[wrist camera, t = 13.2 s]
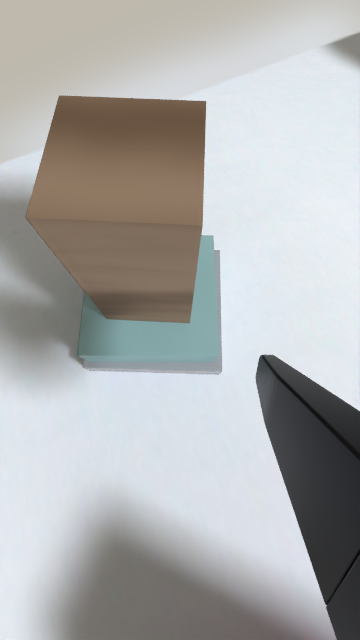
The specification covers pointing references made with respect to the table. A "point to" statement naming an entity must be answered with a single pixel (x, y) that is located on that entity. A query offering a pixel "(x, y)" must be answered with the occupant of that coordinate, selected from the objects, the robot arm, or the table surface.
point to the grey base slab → (172, 366)
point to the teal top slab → (157, 327)
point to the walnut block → (125, 202)
